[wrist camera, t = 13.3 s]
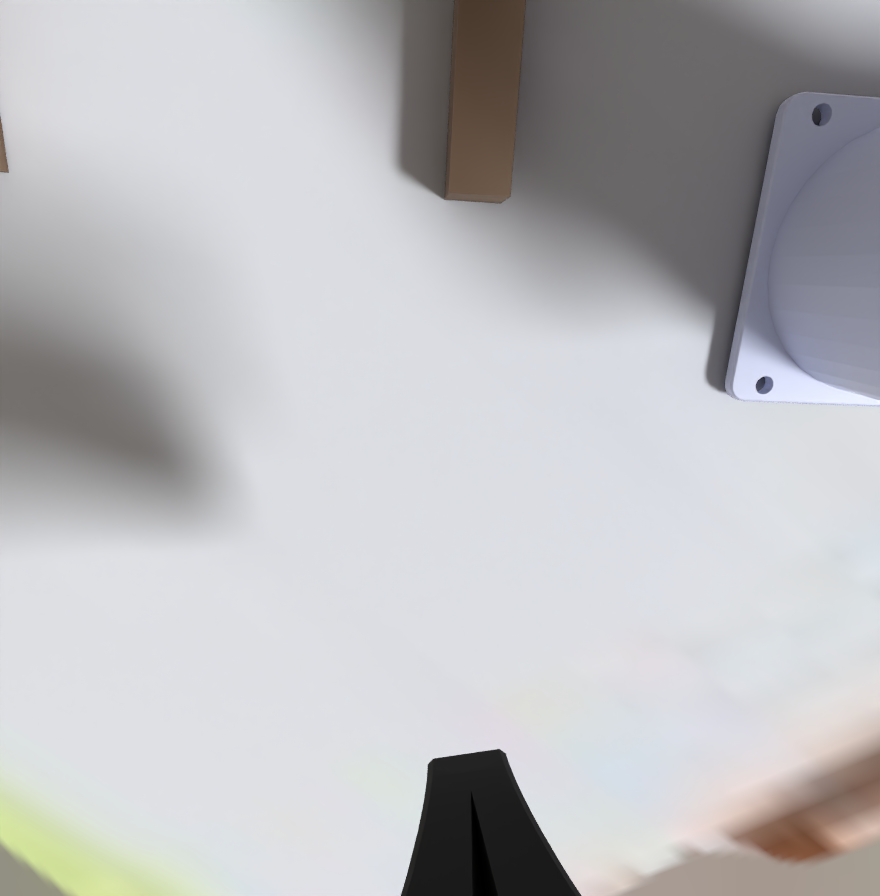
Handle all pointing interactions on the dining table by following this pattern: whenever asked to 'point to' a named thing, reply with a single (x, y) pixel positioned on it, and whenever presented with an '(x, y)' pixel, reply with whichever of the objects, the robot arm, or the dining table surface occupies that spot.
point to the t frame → (475, 100)
